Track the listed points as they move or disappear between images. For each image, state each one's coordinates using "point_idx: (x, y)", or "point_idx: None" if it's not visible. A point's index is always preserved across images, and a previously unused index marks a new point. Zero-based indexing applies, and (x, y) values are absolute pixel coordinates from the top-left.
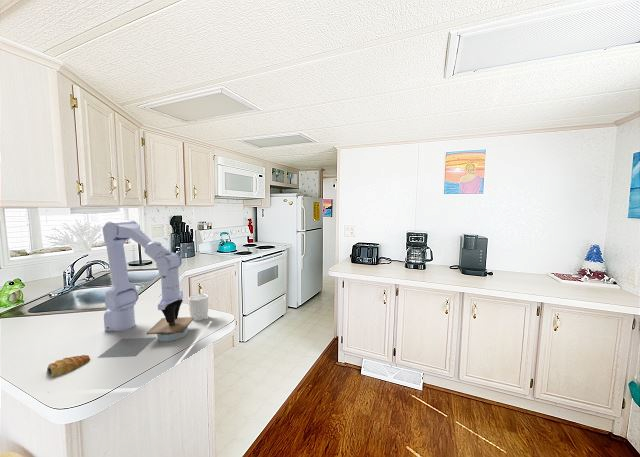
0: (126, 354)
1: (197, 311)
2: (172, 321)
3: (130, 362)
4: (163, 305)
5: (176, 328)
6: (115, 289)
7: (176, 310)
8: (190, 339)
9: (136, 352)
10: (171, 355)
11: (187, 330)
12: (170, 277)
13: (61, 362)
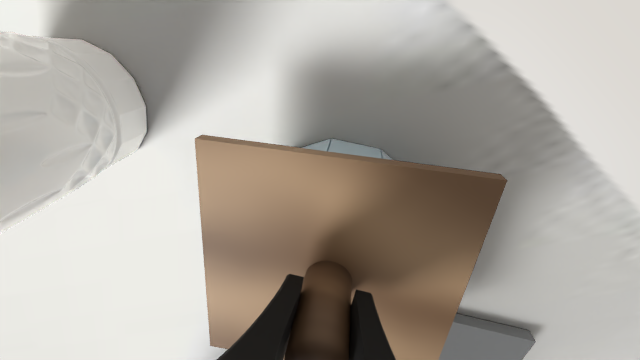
0: None
1: (74, 126)
2: (372, 304)
3: (558, 340)
4: None
5: (423, 239)
6: None
7: (276, 356)
8: (425, 104)
9: (493, 344)
10: (614, 183)
11: (336, 149)
12: None
13: None
